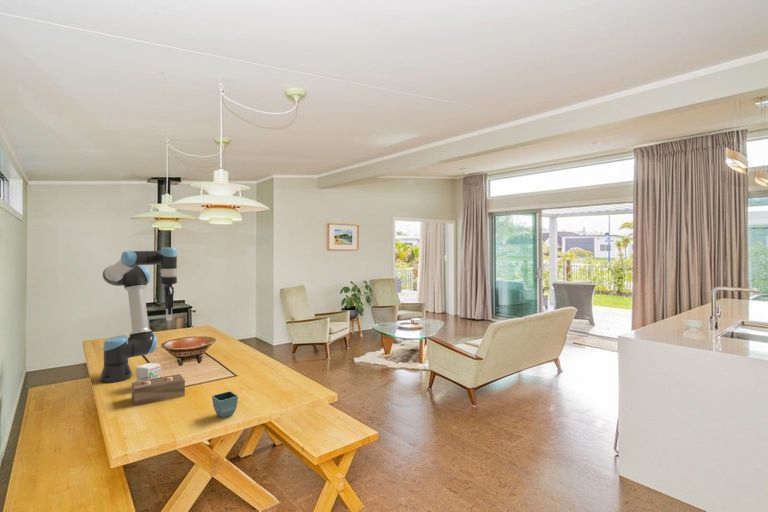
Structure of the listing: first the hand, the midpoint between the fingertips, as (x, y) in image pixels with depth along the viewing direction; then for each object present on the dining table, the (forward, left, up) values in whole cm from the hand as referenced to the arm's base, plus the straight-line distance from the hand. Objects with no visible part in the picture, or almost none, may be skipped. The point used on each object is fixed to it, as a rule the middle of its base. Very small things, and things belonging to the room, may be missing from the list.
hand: (169, 320), depth 219 cm
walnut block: (+12, -7, -36) cm, 39 cm away
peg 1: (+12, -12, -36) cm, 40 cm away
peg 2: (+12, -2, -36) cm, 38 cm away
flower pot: (+53, +14, -37) cm, 66 cm away
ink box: (-7, -9, -37) cm, 38 cm away
